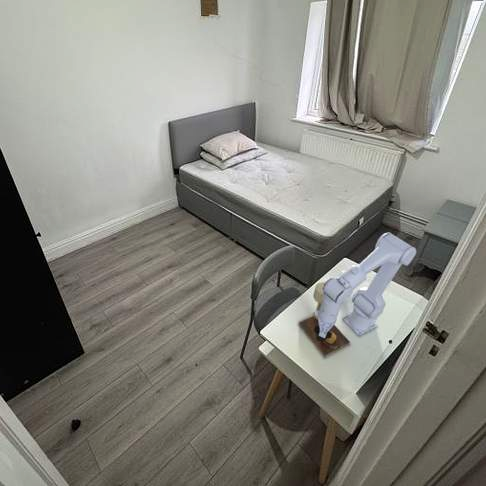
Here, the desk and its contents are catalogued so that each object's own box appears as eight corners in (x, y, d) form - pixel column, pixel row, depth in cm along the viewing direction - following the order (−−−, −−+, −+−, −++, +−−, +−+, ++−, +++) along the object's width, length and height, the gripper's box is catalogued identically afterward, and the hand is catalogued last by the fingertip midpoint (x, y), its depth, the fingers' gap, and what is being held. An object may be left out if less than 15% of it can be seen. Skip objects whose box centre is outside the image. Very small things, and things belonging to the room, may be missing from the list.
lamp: (317, 306, 120) (325, 279, 110) (328, 319, 115) (337, 291, 105) (304, 312, 118) (312, 285, 108) (315, 325, 113) (324, 297, 103)
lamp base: (321, 313, 121) (323, 308, 119) (349, 344, 110) (351, 339, 108) (298, 324, 117) (300, 319, 115) (324, 357, 106) (326, 352, 104)
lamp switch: (330, 333, 110) (331, 330, 109) (337, 341, 107) (338, 338, 106) (323, 337, 109) (324, 334, 108) (329, 345, 106) (331, 342, 105)
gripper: (322, 288, 102) (315, 312, 110) (312, 320, 92) (305, 343, 100) (343, 296, 99) (334, 319, 107) (335, 329, 89) (326, 353, 97)
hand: (321, 331), depth 103 cm, fingers open, 7 cm apart
